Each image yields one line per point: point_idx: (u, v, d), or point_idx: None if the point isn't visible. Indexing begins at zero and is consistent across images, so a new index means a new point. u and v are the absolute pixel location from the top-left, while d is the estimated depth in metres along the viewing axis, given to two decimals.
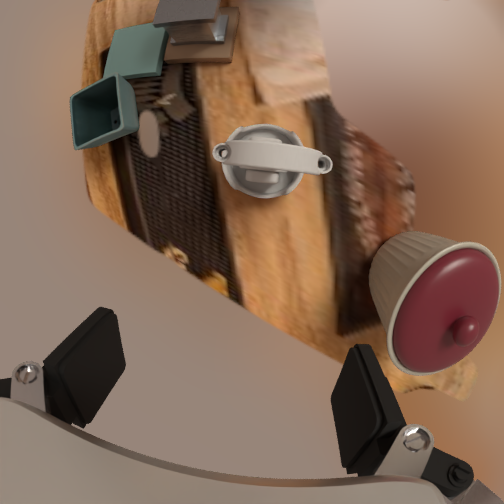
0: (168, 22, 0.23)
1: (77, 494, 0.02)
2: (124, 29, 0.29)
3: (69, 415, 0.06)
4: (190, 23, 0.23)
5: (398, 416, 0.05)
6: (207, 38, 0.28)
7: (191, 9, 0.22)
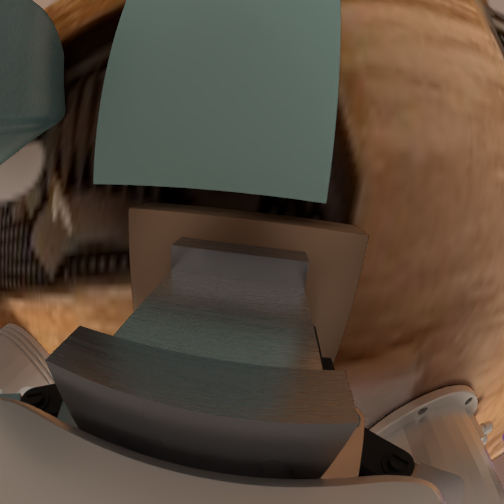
0: None
1: (77, 494, 0.02)
2: (330, 20, 0.08)
3: None
4: None
5: None
6: None
7: None
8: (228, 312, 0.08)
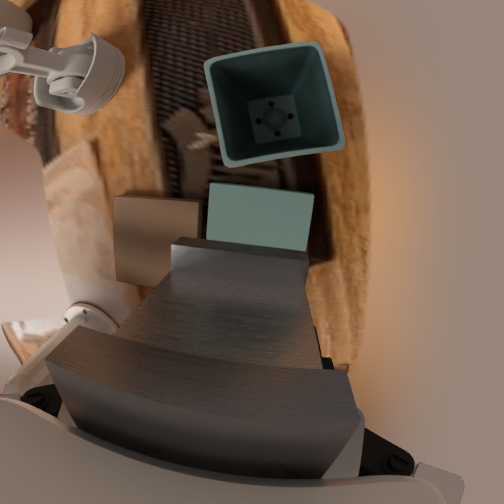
0: None
1: (77, 494, 0.02)
2: None
3: None
4: None
5: None
6: None
7: None
8: (228, 311, 0.08)
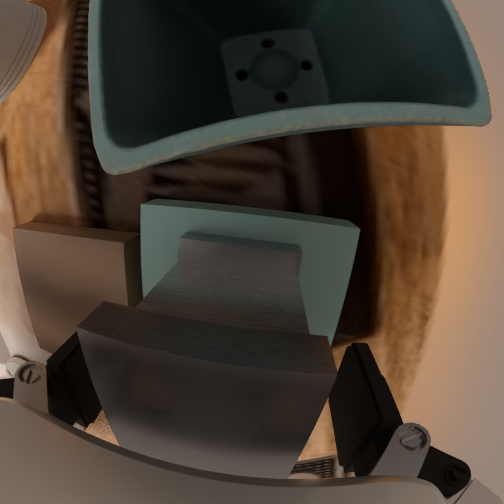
0: None
1: (77, 494, 0.02)
2: None
3: (72, 415, 0.06)
4: None
5: (394, 414, 0.06)
6: None
7: None
8: (229, 295, 0.09)
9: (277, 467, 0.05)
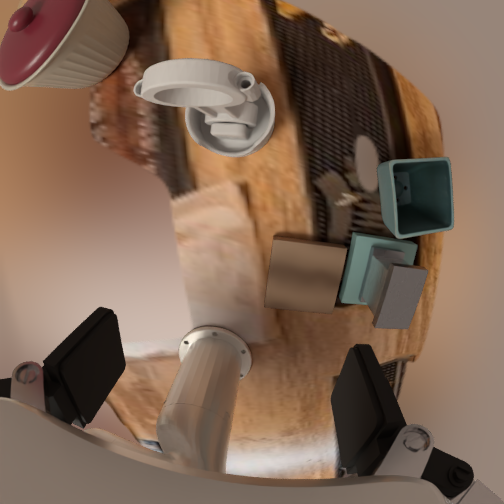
0: (388, 283, 0.28)
1: (77, 494, 0.02)
2: None
3: (69, 415, 0.06)
4: (379, 301, 0.29)
5: (398, 416, 0.05)
6: (365, 291, 0.34)
7: (395, 306, 0.28)
8: (395, 263, 0.31)
9: (416, 299, 0.28)
